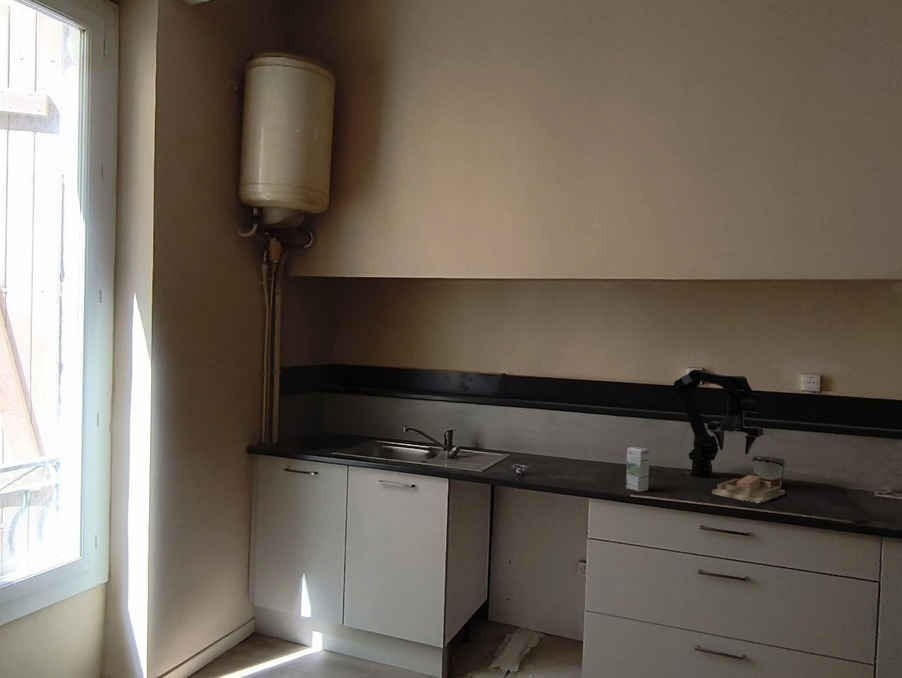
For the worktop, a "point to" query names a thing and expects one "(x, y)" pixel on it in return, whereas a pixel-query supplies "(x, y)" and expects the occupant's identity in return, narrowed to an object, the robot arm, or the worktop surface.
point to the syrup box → (637, 469)
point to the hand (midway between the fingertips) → (733, 451)
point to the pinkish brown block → (750, 482)
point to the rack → (748, 491)
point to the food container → (769, 469)
